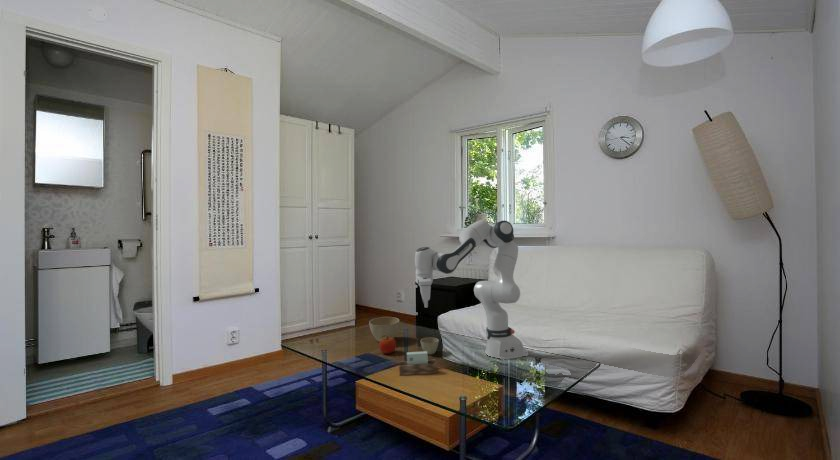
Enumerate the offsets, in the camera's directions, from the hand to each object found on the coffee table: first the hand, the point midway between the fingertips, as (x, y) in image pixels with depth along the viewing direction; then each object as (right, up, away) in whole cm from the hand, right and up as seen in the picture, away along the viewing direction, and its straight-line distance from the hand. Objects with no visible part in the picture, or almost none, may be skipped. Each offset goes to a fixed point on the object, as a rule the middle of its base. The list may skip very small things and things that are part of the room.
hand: (425, 305), depth 230 cm
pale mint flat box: (-4, -29, -12) cm, 32 cm away
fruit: (-21, -29, +16) cm, 39 cm away
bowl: (+3, -29, +12) cm, 31 cm away
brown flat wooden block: (-4, -30, -12) cm, 33 cm away
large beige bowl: (-24, -28, +37) cm, 52 cm away
